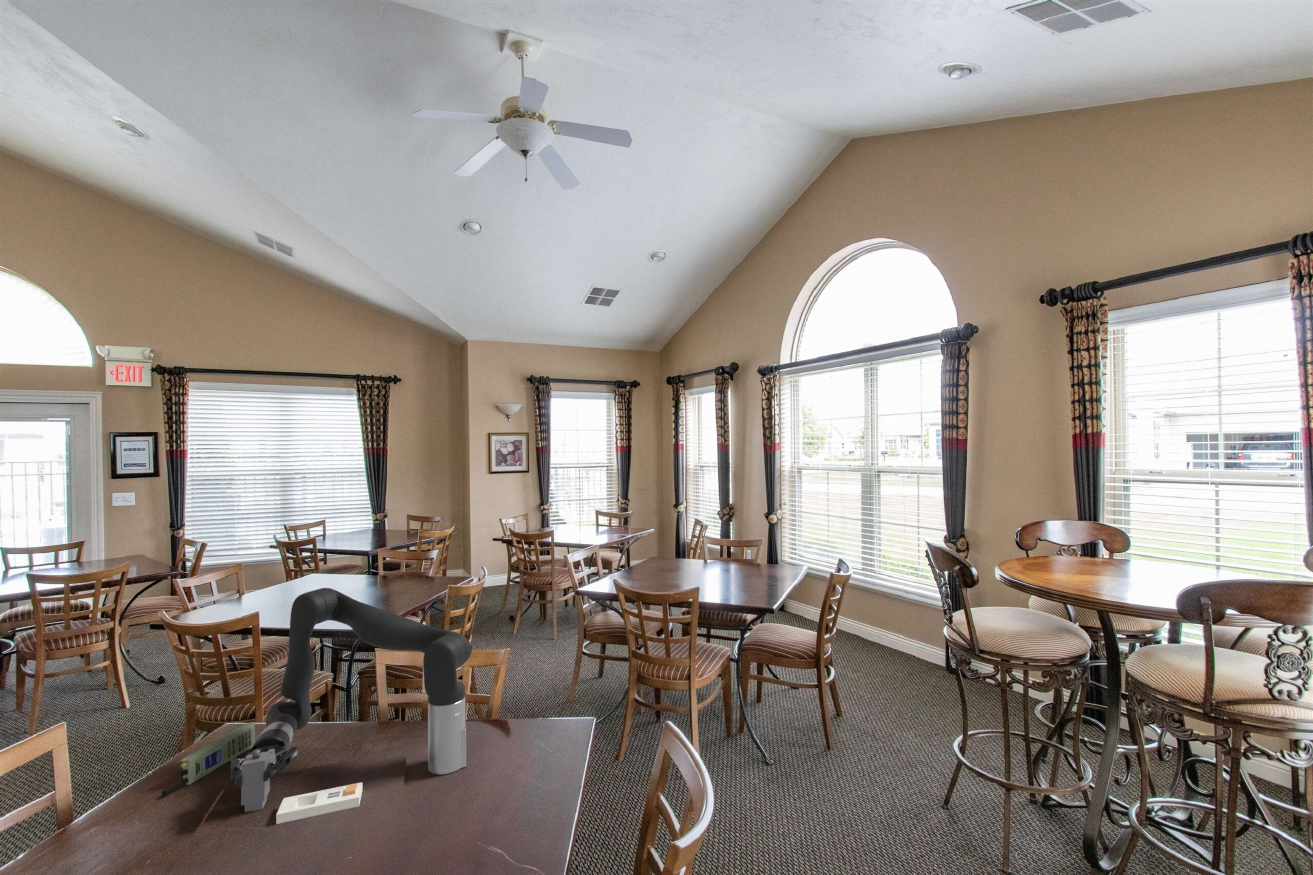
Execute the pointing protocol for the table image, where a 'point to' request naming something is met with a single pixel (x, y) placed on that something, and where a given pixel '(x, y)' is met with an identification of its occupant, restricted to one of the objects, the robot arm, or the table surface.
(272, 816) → the table surface
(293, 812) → the power strip
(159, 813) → the table surface
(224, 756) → the handheld radio
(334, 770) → the table surface
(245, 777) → the charger
